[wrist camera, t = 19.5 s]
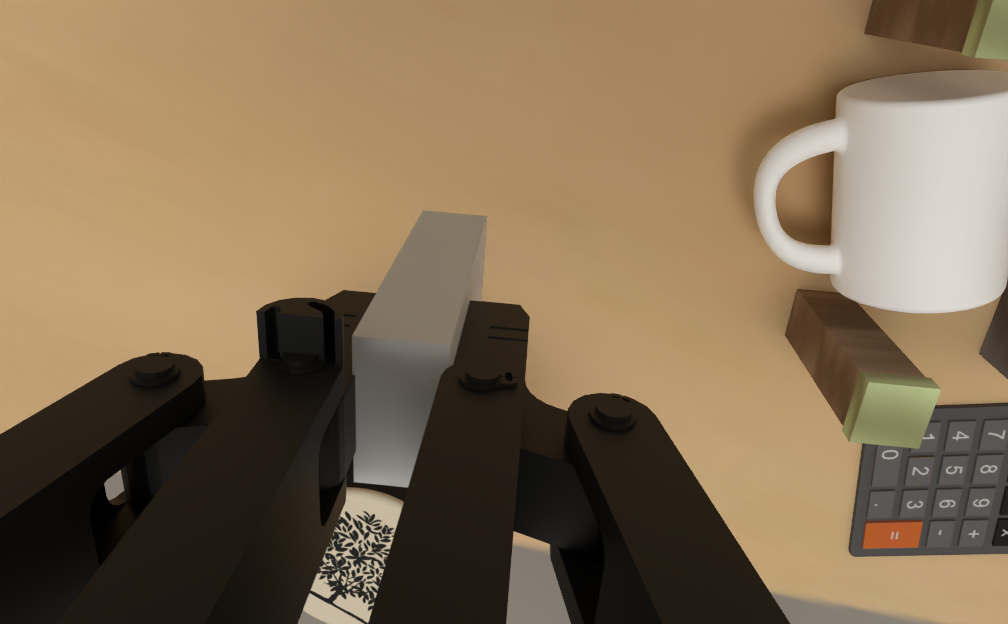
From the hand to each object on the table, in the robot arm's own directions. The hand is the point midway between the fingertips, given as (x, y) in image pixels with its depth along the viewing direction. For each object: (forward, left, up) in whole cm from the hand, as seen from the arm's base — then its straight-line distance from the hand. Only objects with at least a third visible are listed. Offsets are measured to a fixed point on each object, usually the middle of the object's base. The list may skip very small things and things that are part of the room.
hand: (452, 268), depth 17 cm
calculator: (+21, +32, -25) cm, 46 cm away
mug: (+2, +19, -25) cm, 31 cm away
